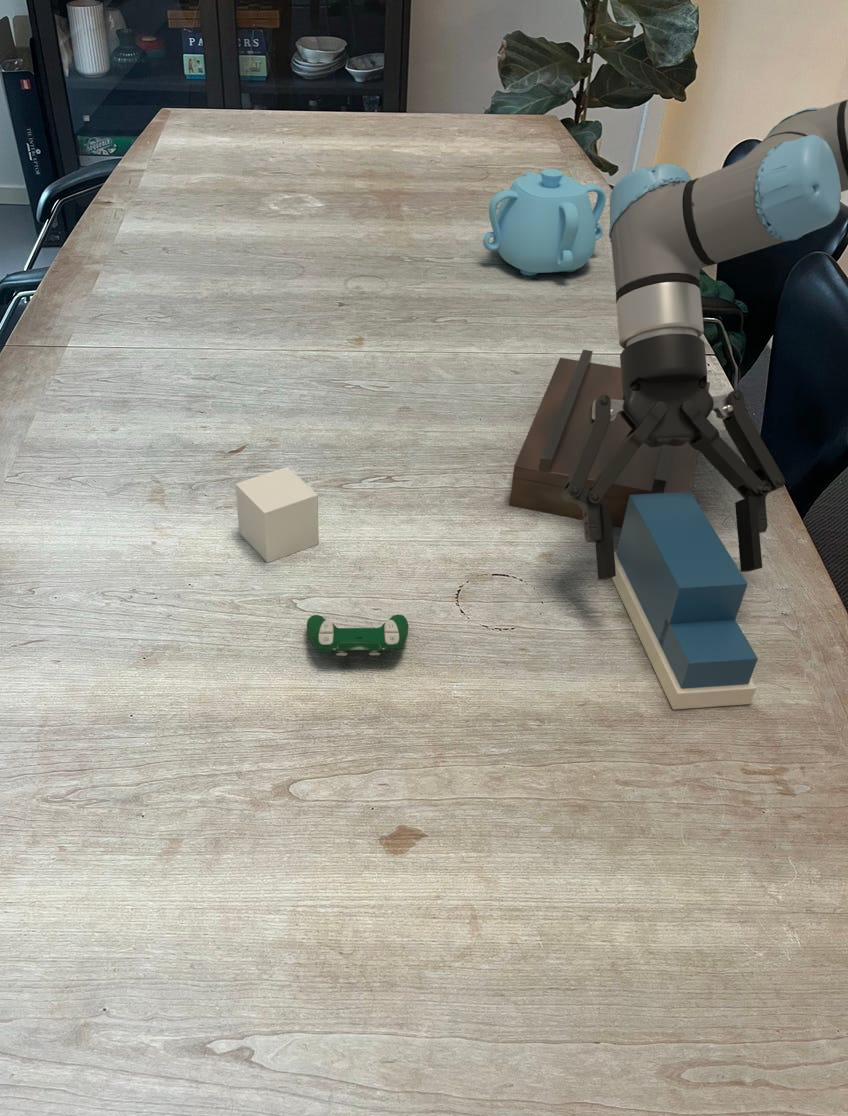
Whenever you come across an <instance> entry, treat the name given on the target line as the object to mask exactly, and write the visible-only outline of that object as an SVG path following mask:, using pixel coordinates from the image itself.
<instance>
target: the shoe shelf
mask: <svg viewBox="0 0 848 1116" xmlns="http://www.w3.org/2000/svg"><path fill="white" fill-rule="evenodd" d="M593 353H594V352H593V350H589V349H582V351H581V354H580V356H579V359H578V360H577V359H571V358H565V357H559V359H558V362H557V364H556V366H555V367H554V370H553V373H552V375H551V378H550V380H549V382H548V385H547V387H546V390H545V392H544V395H543V397H542V399H541V401H540V404H539V406H538V409H537V411H536V413H535V416H534V418H533V420H532V422H531V425H530V427H529V430H528V432H527V434H526V437H525V440H524V441H523V444H522V446H521V448H520V451H519V454H518V455H517V458H516V461H515V463H514V466H513V471H512V472H513V474H512V481H511V487H510V496H509V503H508V505H509V506H513V507H518V508H522V509H523V508H524V509H528V510H533V511H538V512H542V513H543V512H544V513H547V514H553V515H558V516H562V517H568V518H574V519H578V520H582V521H584V518H583V510H582V509H581V508H580V507H579V505H578V504H575V503H572V502H564V501H563V500H562V498H561V493H562V491H563V488H564V486H565V483H566V481H567V478H568V476H569V474H570V471H571V469H572V466H573V464H574V461H575V459H576V456H577V454H578V451H579V449H580V447H581V444H582V442H583V439H584V437H585V434H586V432H587V429H588V427H589V412H590V405H591V404H592V403H593V402H594V401H595V400H596V399H597V398H598V397H599V396H601V395H604V394H605V395H608V396H609V397H610V399H615V400H622V399H623V388H622V376H621V366H614V365H608V364H601V363H595V362H592V358H593ZM710 387H711V382H710V381H707V388H708V391H710ZM630 430H631V428H630V426H629V425H628V424H627V423H626V421H625V420H624V419H623V418H622V416H621V415H620V413H619V414H617V416H616V418H615V420H613V421H612V422H611V423H609V425H608V428H607V431H606V433H605V436H604V438H603V441H602V443H601V446H600V448H599V451H598V453H597V456H596V458H595V461H594V463H593V465H592V468H591V470H590V473H589V475H588V478H587V480H586V483H585V485H584V488H585V489H589V487H590V486H591V485H592V483H593V482H594V481H595V479H596V478H597V477H598V475H599V474H600V472H601V471H602V470H603V468H604V467H605V466H606V464H607V463H608V461H609V460H610V459H611V457H612V456H613V455H614V453H615V452H616V450H617V449H618V448H619V446H620V444H621V442H622V441H623V440H624V438H625V437H626V436H627V434H628V433H629V431H630ZM698 453H699V451H698V450H695V449H694V448H693V447H692V446H691V445H690V444H689V443H686V444H684V445H682V446H670V445H662V446H658V447H649V445H646V444H644V443H643V444H642V445H641V446H640V447H639V449H638V450H637V451H636V453H635V454H634V456H633V457H632V458H631V460H630V461H629V462H628V464H627V465H626V467H625V468H624V469H623V471H622V472H621V473H620V475H619V476H618V478H617V479H616V480H615V482H614V483H613V484H612V486H611V487H610V489H609V490H608V491H607V493H606V494H605V495H604V497H603V498H602V500H601V501H600V505H601V504H610V505H611V518H612V527H619V528H622V526H623V522H624V518H625V513H626V509H627V504H628V500H629V495H636V494H656V493H676V492H691V493H692V487H693V481H694V476H695V470H696V464H697V460H698V458H697V457H698Z"/></svg>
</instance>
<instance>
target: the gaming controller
mask: <svg viewBox="0 0 848 1116" xmlns="http://www.w3.org/2000/svg"><path fill="white" fill-rule="evenodd" d="M306 632H307V636H308V640H309V642H310V644H311V645H312V647H314V648H315V649H316V651H319V652H321V651H323V652H329V651H331V652H332V651H333V652H337V653H335V655H336V656H338V657H339V656H344V657H345V656H347V655H348V654H349V653H348V652H350V651H356V650H357V651H367V652H368V655H369V656H380V655H381V652H383V651H393V650H395V651H397V650H401V649H402V648H403V646H405V643H406V641H407V638H408V634H409V622H408V619H407V618H406V617H405V616H404V615H403V614H400V613H399V614H394V615H392V616H391V617H390V618H388V620H386V621H385V622H383V624H382V625H381V626H380V627H338V626H337V625H336V624H334V623H333V622H332V621H331V620H329V619H326V618H325V617H323V616H322V615H319V614H313V615H310V616H309V618H308V619H307V621H306Z"/></svg>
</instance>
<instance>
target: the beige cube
mask: <svg viewBox="0 0 848 1116" xmlns="http://www.w3.org/2000/svg"><path fill="white" fill-rule="evenodd" d="M234 486H235V496H236V497H235V499H236V509H237V511H236V512H237V521H238V533H239V534H240V535H241V536H242V537H243V539H244V540H245V541H246V542H247V543H248V544H249V546H251V547H252V548H253V549H254V550H255V552H257V554H259V556H260V557H261V558H262V559H263V560H264V561H265V562H266V563H267V564H268V563H271V562H273V561H277V560H279V559H282V558H284V557H287V556H291V555H293V554H295V553H298V552H301V551H303V550H306V549H308V548H312V547H315V546H317V545H319V544H320V541H319V540H320V539H319V538H320V536H319V532H320V531H319V529H320V528H319V494H318V493H317V492H316V491H314V489H312V488H311V487H310V486H309V485H308V484H307V483H306V481H304V480H303V479H302V478H300V477H299V476H298V475H297V474H296V473H295V472H294V471H293V470H292V469H291V468H290V467H289V466H285V467H282V468H280V469H277V470H273V471H270V472H267V473H264V474H261V475H257V476H255V477H252V478H249V479H246V480H242V481H239V482H236V483H235V485H234Z"/></svg>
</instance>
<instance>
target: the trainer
mask: <svg viewBox="0 0 848 1116" xmlns="http://www.w3.org/2000/svg"><path fill="white" fill-rule="evenodd" d="M616 549H617V550H616V551H615V550H614V557H615V570H616V576H614V577H612V578H611V580H612V582H613V585H614V586H615V589H616V591H617V593H618V596H619V597H620V600H621V602H622V604H623V606H624V608H625V610H626V612H627V615H628V617H629V619H630V621H631V623H632V625H633V627H634V630H635V633H636V634H637V636H638V638H639V640H640V643H641V644H642V647H643V649H644V652H645V653H646V655H647V657H648V659H649V661H650V664H651V667H652V668H653V670H654V672H655V675H656V677H657V678H658V682H659V683H660V685H661V688H662V690H663V691H664V694H665V696H666V698H667V700H668V703H669V705H670V707H671V709H672V710H684V709H685V710H687V709H700V708H701V709H702V708H713V707H714V708H715V707H729V706H741V705H743V706H744V705H750V704H752V700H753V698H754V695H755V693H756V690H757V686H756V685H755V683H754V681H753V679H752V676H753V674H754V670H755V668H756V665H757V663H758V659H759V658H758V656H757V654H756V653H755V651H754V649H753V647H752V646H751V644H750V642H749V640H748V639H747V637H746V636H745V634H744V632H743V630H742V628H741V627H740V625H739V623H738V622H737V620H736V619H737V616H738V615H739V614H738V613H739V610H740V608H741V605H742V603H743V599H744V596H745V593H746V590H747V587H748V582H747V580H746V579H745V577H744V576H743V573H742V572H741V570H740V569H739V567H738V566H737V565H736V563H735V561H734V560H733V558H732V556H731V555H730V553H729V551H728V549H727V548H726V546H725V545H724V543H723V542H722V540H721V538H720V536H719V535H718V534H717V532H716V530H715V529H714V527H713V525H712V524H711V522H710V520H709V519H708V517H707V516H706V514H705V513H704V511H703V509H702V508H701V506H700V504H699V502H698V501H697V499H696V498H695V496H694V495H693V493H692V491H691V492H676V493H656V494H636V495H629V500H628V504H627V509H626V513H625V518H624V522H623V526H622V527H621V532H620V535H619V540H618V544H617V548H616Z"/></svg>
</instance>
